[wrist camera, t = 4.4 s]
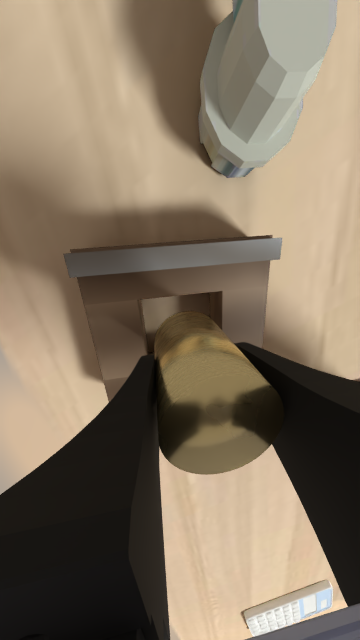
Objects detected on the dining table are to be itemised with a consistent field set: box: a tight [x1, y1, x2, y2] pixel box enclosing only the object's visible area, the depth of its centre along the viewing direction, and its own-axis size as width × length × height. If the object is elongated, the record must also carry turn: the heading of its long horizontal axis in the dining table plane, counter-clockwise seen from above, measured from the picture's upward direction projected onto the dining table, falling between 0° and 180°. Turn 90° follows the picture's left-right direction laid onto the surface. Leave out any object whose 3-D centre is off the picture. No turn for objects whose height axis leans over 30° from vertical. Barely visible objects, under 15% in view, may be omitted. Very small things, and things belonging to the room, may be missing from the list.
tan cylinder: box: [154, 311, 284, 474], centre depth 9 cm, size 4×4×6 cm
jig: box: [64, 235, 282, 402], centre depth 14 cm, size 12×12×4 cm
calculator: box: [244, 580, 333, 637], centre depth 43 cm, size 13×20×2 cm, turn 106°
